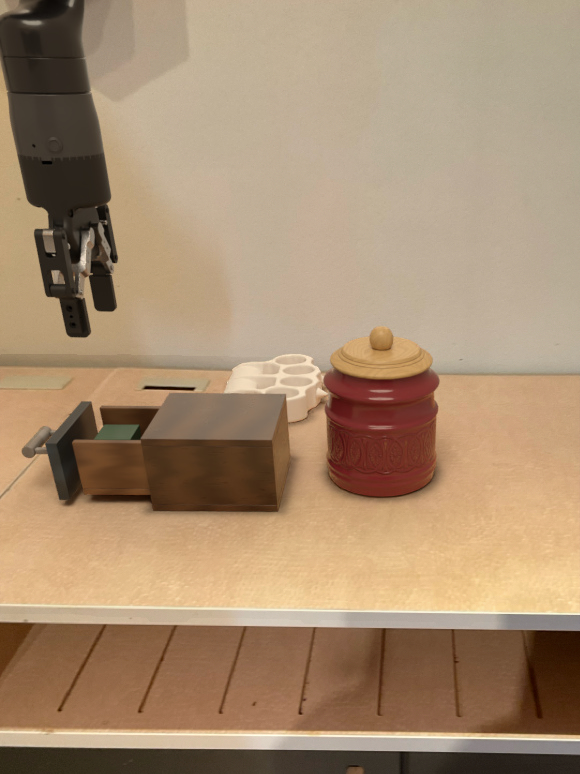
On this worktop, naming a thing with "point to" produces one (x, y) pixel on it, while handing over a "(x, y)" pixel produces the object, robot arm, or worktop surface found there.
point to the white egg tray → (281, 382)
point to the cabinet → (217, 452)
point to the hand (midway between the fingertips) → (93, 323)
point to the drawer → (95, 452)
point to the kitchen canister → (381, 415)
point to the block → (119, 432)
